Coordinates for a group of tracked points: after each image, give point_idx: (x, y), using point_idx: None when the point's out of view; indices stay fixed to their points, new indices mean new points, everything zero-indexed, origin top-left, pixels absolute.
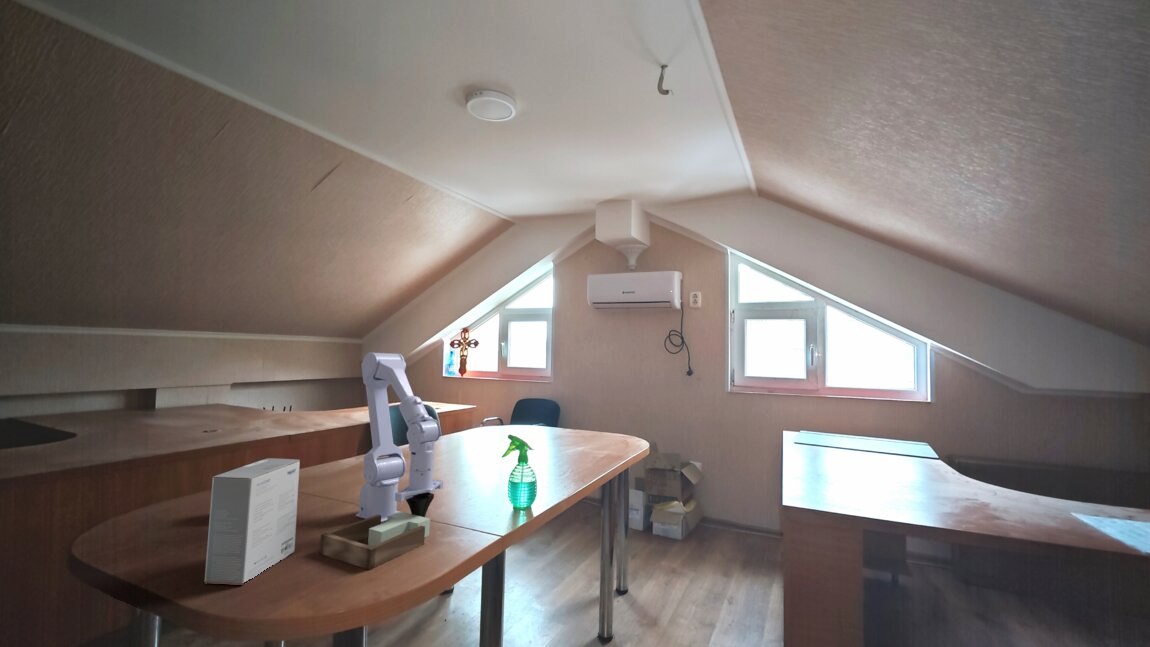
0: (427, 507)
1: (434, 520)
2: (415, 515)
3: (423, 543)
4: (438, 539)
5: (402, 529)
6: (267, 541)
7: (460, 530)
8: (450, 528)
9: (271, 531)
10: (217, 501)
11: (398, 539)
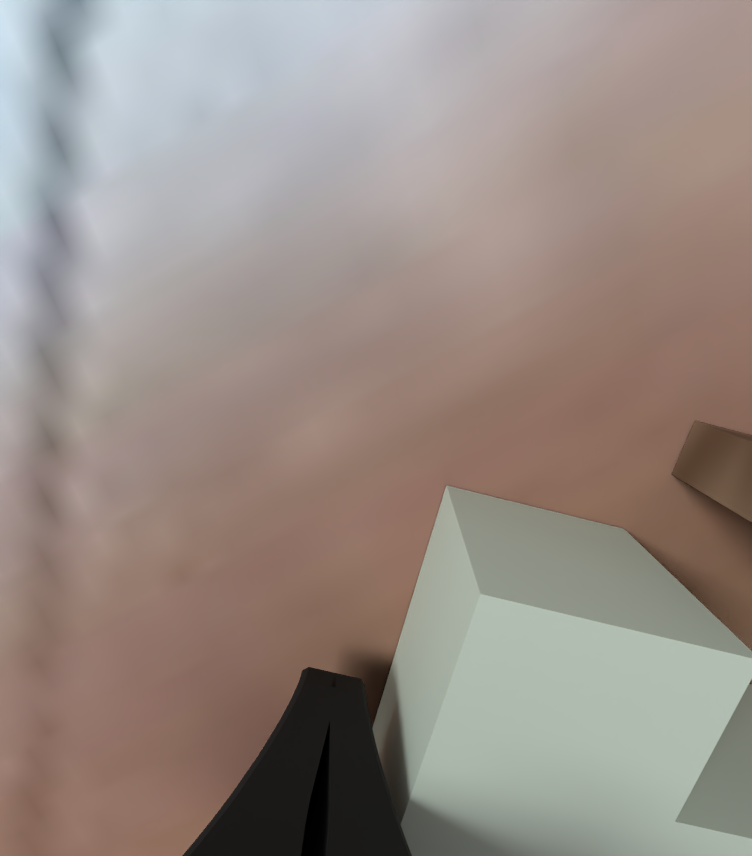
0: (230, 851)
1: (31, 633)
2: None
3: (710, 425)
4: (523, 333)
5: (728, 766)
6: None
7: (170, 202)
8: (162, 360)
9: None
10: None
11: None
